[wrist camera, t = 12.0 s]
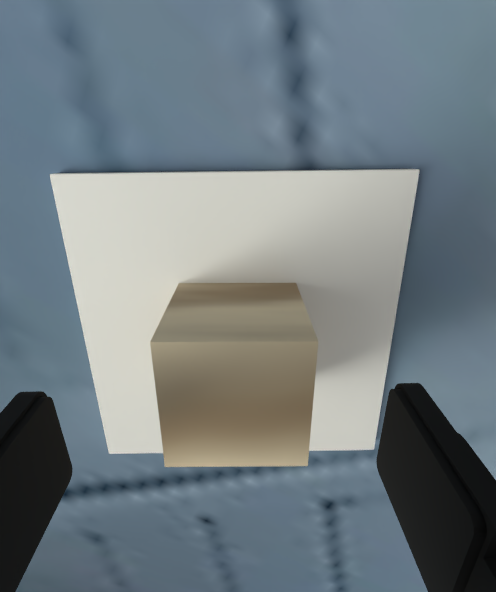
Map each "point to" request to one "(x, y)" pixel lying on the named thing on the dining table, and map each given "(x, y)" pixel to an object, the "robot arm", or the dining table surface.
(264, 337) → the maple cube
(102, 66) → the dining table surface
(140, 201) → the off-white board
